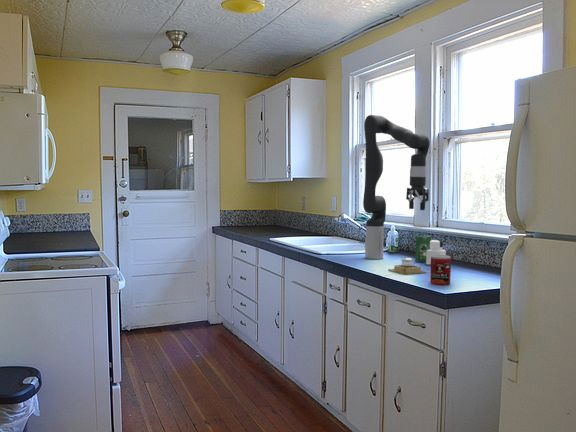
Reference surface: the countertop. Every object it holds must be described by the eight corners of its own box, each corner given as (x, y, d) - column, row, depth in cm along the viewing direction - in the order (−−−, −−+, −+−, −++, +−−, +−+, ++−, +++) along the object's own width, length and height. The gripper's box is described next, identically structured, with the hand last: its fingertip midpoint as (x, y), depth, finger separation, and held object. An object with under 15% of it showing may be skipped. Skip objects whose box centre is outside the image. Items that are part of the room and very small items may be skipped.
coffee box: (426, 260, 273) (427, 235, 272) (430, 261, 270) (431, 235, 269) (414, 261, 269) (415, 236, 268) (418, 262, 266) (419, 236, 265)
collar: (388, 270, 240) (388, 265, 240) (409, 269, 245) (409, 263, 245) (404, 274, 229) (404, 269, 229) (426, 273, 234) (426, 267, 234)
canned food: (429, 284, 207) (429, 256, 207) (431, 281, 215) (431, 254, 214) (449, 286, 205) (450, 257, 204) (451, 282, 212) (451, 255, 212)
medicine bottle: (432, 262, 265) (432, 239, 265) (445, 264, 261) (446, 240, 260) (425, 264, 260) (426, 240, 259) (439, 265, 255) (440, 241, 255)
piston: (399, 270, 239) (399, 258, 238) (408, 269, 241) (408, 257, 240) (405, 271, 234) (406, 259, 234) (414, 271, 236) (415, 259, 236)
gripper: (402, 175, 259) (401, 208, 260) (420, 176, 246) (419, 210, 247) (415, 176, 262) (414, 208, 263) (433, 176, 249) (432, 210, 250)
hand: (416, 209), depth 255 cm, fingers open, 8 cm apart
